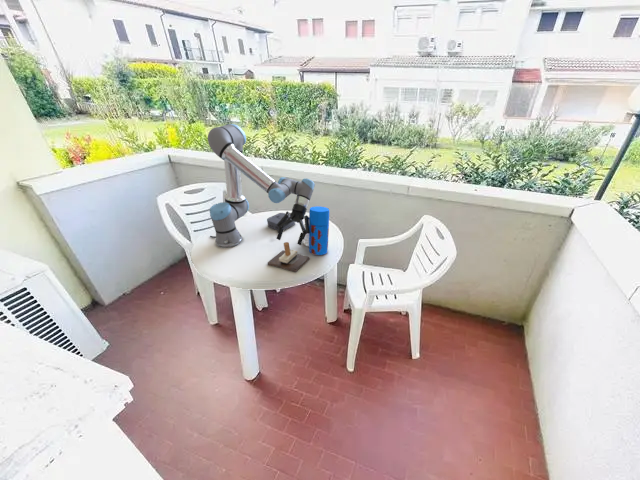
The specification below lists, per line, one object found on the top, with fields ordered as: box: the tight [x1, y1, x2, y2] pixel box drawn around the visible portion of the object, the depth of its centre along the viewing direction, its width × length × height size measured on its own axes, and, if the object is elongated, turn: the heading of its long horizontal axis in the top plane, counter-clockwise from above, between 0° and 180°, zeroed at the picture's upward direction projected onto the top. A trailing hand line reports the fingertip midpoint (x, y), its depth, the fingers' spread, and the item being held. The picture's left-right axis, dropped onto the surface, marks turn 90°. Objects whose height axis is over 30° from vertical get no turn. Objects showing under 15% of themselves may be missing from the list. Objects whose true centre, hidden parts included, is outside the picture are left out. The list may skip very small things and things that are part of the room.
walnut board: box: [267, 249, 310, 273], centre depth 155 cm, size 18×14×2 cm
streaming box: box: [266, 212, 296, 231], centre depth 192 cm, size 14×14×5 cm
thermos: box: [308, 205, 330, 256], centre depth 158 cm, size 11×11×25 cm
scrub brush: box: [279, 241, 298, 264], centre depth 152 cm, size 10×5×10 cm, turn 157°
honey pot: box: [302, 223, 309, 247], centre depth 169 cm, size 13×13×18 cm
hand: (288, 242), depth 153 cm, fingers open, 13 cm apart
